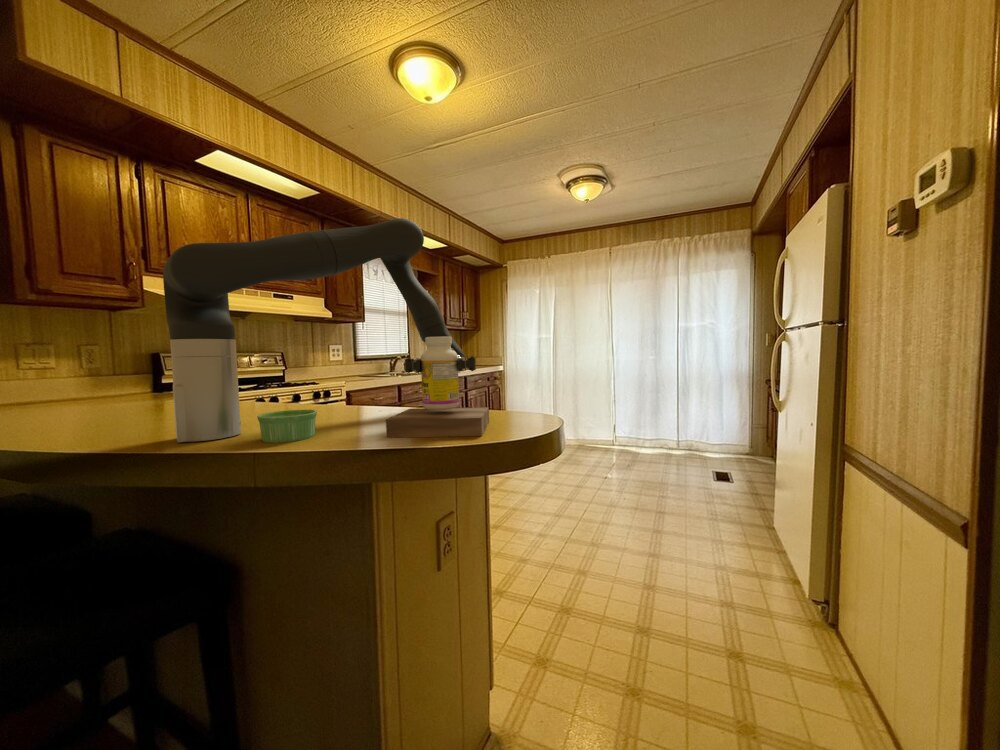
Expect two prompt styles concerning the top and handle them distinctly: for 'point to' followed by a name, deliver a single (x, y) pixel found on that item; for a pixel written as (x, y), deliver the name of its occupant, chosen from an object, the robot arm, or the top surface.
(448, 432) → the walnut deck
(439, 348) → the supplement bottle
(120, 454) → the top surface
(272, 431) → the ramekin
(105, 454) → the top surface
